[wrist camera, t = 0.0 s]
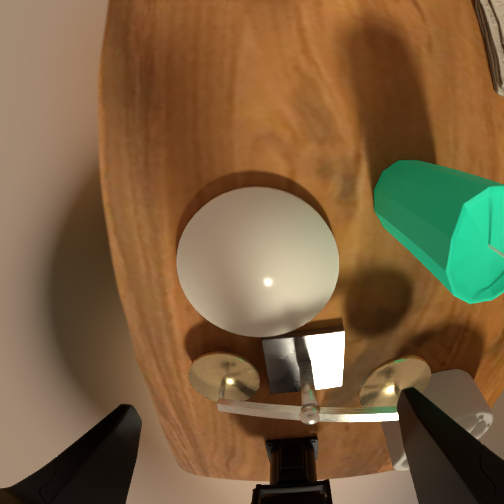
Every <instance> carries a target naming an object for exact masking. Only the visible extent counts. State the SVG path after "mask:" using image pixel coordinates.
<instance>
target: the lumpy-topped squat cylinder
mask: <svg viewBox="0 0 504 504" xmlns="http://www.w3.org/2000/svg"><path fill="white" fill-rule="evenodd" d="M422 394H423V395H424V396H426V397H427V398H428V399H429V400H430V401H432V402H433V403H434V404H435V405H436V406H438V407H439V408H440V409H441V410H442V411H444V412H445V413H446V414H447V415H448V416H450V417H451V418H452V419H453V420H454V421H456V422H457V423H458V424H459V425H460V426H462V427H463V428H464V429H465V430H466V431H468V432H469V433H470V434H471V435H472V436H474V437H475V438H476V439H478V438H480V437H482V436H483V434H484V433H485V432H486V431H487V429H488V428H489V427H490V425H491V424H492V421H493V413H492V411H491V409H490V407H489V406H488V404H487V402H486V400H485V399H484V397H483V395H482V393H481V392H480V390H479V388H478V387H477V385H476V383H475V382H474V380H473V379H472V377H471V375H470V374H469V373H467V372H465V371H463V370H460V369H452V370H446V371H442V372H437V373H433V374H431V378H430V381H429V384H428V385H427V387H426V389H425V390H424V391H423V392H422ZM381 424H382V428H383V431H384V435H385V438H386V442H387V446H388V450H389V454H390V458H391V461H392V465H393V468H394V469H396V470H402V471H403V470H410V468H409V465H408V461H407V458H406V454H405V451H404V447H403V441H402V435H401V429H400V424H399V420H390V421H381Z"/></svg>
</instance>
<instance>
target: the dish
mask: <svg viewBox="0 0 504 504" xmlns="http://www.w3.org/2000/svg"><path fill="white" fill-rule="evenodd" d="M176 261H177V272H178V277H179V281H180V284H181V287H182V289H183V291H184V293H185V295H186V297H187V299H188V300H189V302H190V303H191V305H192V306H193V307H194V308H195V309H196V310H197V312H199V313H200V314H201V315H202V316H203V317H204V318H205V319H207V320H208V321H209V322H211V323H212V324H214V325H216V326H218V327H219V328H221V329H224V330H226V331H228V332H231V333H235V334H238V335H243V336H250V337H269V336H276V335H280V334H284V333H287V332H290V331H293V330H295V329H297V328H299V327H301V326H303V325H304V324H306V323H307V322H309V321H310V320H312V319H313V318H314V317H315V316H316V315H317V314H318V313H319V312H320V311H321V310H322V309H323V308H324V307H325V305H326V304H327V302H328V301H329V299H330V297H331V295H332V293H333V291H334V289H335V286H336V283H337V279H338V274H339V255H338V249H337V245H336V242H335V239H334V237H333V235H332V232H331V231H330V229H329V227H328V226H327V224H326V222H325V221H324V219H323V218H322V217H321V215H320V214H319V213H318V212H317V211H316V210H315V209H314V208H313V207H312V206H311V205H310V204H308V203H307V202H306V201H304V200H303V199H301V198H300V197H298V196H296V195H294V194H292V193H290V192H287V191H284V190H281V189H277V188H272V187H265V186H249V187H242V188H237V189H233V190H230V191H228V192H225V193H223V194H221V195H219V196H217V197H215V198H213V199H212V200H210V201H209V202H208V203H206V204H205V205H204V206H203V207H202V208H201V209H200V210H199V211H198V212H197V213H196V214H195V215H194V216H193V218H192V219H191V220H190V221H189V223H188V224H187V226H186V228H185V229H184V231H183V234H182V236H181V239H180V241H179V245H178V250H177V260H176Z"/></svg>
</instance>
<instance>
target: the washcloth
mask: <svg viewBox="0 0 504 504" xmlns="http://www.w3.org/2000/svg"><path fill="white" fill-rule="evenodd" d="M475 8H476V12H477V15H478V19H479V22H480V26H481V29H482V32H483V35H484V38H485V41H486V46H487V51H488V56H489V62H490V67H491V72H492V78H493V84H494V88H495V91H496V93H497V94H498V95H501V96H502V97H504V0H475Z"/></svg>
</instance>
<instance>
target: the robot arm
mask: <svg viewBox="0 0 504 504" xmlns="http://www.w3.org/2000/svg"><path fill="white" fill-rule="evenodd" d="M397 413H398V419H399V424H400V429H401V435H402V441H403V447H404V451H405V454H406V458H407V461H408V465H409V468H410V472H411V475H412V479H413V483H414V487H415V490H416V494H417V498H418V502H419V504H504V460H503V459H501V458H500V457H498V456H497V455H496V454H494V453H493V452H492V451H490V450H489V449H488V448H487V447H486V446H485V445H483V444H482V443H481V442H480V441H478V440H477V439H476V438H475V437H474V436H472V435H471V434H470V433H469V432H468V431H466V430H465V429H464V428H463V427H462V426H460V425H459V424H458V423H457V422H456V421H454V420H453V419H452V418H451V417H450V416H448V415H447V414H446V413H445V412H444V411H442V410H441V409H440V408H439V407H438V406H436V405H435V404H434V403H433V402H432V401H430V400H429V399H428V398H427V397H426V396H424V395H423V394H422V393H421V392H420V391H418V390H417V389H416V388H415V387H408V388H404V389H402V390H401V392H400V396H399V399H398V402H397ZM141 426H142V420H141V418H140V416H139V414H138V413H137V411H136V409H135V408H134V407H133V406H132V405H130V404H121V405H119V406H118V407H117V408H116V409H114V410H113V411H112V412H111V413H110V414H108V415H107V416H106V417H105V418H104V419H102V420H101V421H100V422H99V423H98V424H96V425H95V426H94V427H93V428H92V429H90V430H89V431H88V432H87V433H85V434H84V435H83V436H82V437H81V438H79V439H78V440H77V441H76V442H74V443H73V444H72V445H71V446H69V447H68V448H67V449H66V450H64V451H63V452H62V453H61V454H59V455H58V456H57V457H56V458H54V459H53V460H52V461H51V462H49V463H48V464H46V465H45V466H44V467H42V468H41V469H40V470H38V471H37V472H35V473H33V474H32V475H30V476H28V477H27V478H25V479H23V480H22V481H20V482H19V483H17V484H15V485H13V486H11V487H8V488H0V504H126V499H127V495H128V491H129V487H130V483H131V479H132V475H133V470H134V467H135V463H136V459H137V453H138V446H139V439H140V432H141ZM265 445H266V449H267V453H268V457H269V461H270V485H261V484H257V485H256V488H255V489H253V495H252V502H251V504H332V498H331V497H332V496H331V489H330V482H329V479H326V480H323V481H317V475H316V462H315V461H316V460H317V454H318V438H317V437H309V438H299V439H287V440H271V441H266V444H265Z"/></svg>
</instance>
